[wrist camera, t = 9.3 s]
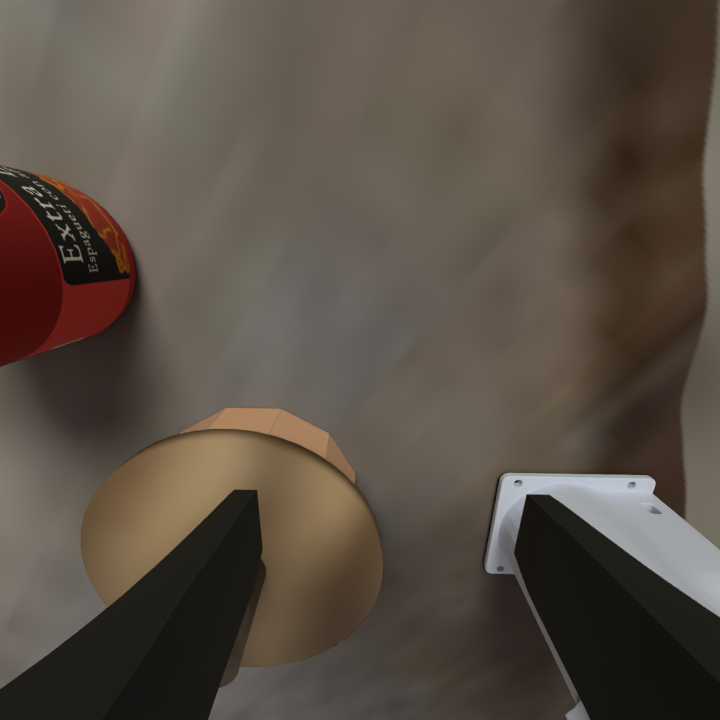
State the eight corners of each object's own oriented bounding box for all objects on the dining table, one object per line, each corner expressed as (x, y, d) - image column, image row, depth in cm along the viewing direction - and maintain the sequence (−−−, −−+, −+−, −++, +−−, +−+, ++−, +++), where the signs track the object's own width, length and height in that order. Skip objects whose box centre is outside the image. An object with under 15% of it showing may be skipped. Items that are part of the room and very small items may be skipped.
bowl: (356, 410, 19) (355, 449, 16) (353, 564, 23) (352, 625, 19) (150, 406, 19) (99, 444, 16) (181, 561, 23) (146, 622, 19)
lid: (413, 459, 16) (436, 550, 11) (351, 662, 21) (348, 787, 16) (89, 401, 15) (-38, 472, 10) (101, 628, 20) (18, 749, 15)
